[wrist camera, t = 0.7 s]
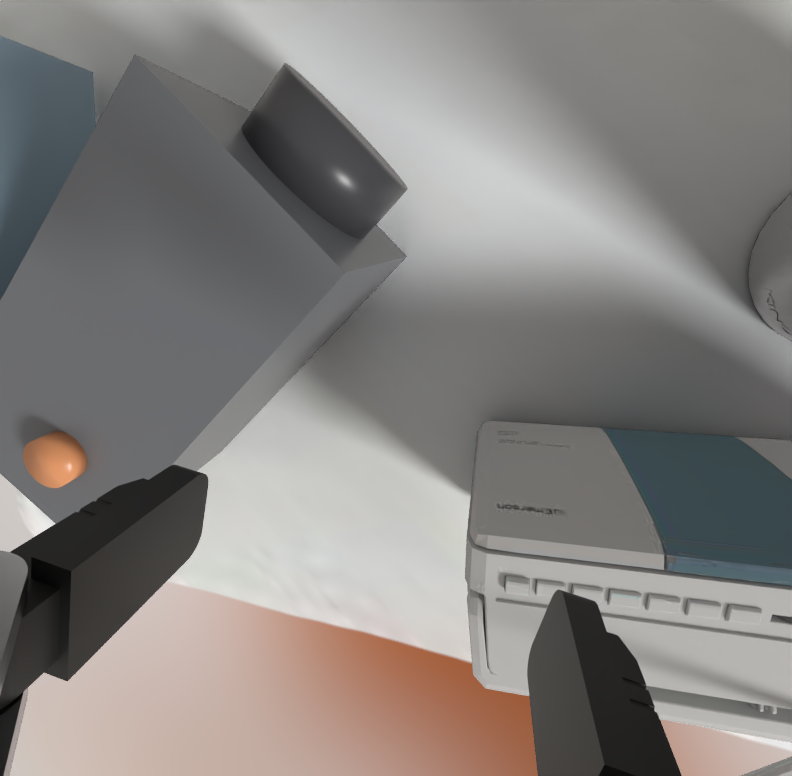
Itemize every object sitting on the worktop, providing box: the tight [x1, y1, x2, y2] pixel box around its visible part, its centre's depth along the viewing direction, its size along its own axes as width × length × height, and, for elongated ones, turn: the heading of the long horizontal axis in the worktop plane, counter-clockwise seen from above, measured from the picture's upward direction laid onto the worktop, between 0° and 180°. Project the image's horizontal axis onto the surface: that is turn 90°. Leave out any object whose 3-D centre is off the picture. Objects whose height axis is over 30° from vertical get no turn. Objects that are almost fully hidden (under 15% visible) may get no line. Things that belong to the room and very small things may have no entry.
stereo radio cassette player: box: [465, 421, 792, 776], centre depth 20 cm, size 21×8×20 cm, turn 90°
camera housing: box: [0, 55, 407, 524], centre depth 24 cm, size 23×10×13 cm, turn 135°
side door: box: [0, 36, 96, 301], centre depth 25 cm, size 17×2×11 cm, turn 170°
